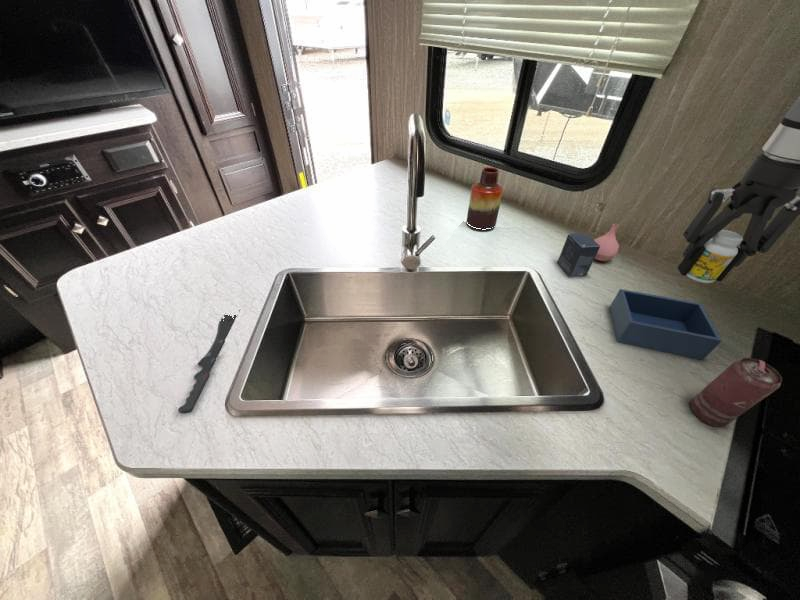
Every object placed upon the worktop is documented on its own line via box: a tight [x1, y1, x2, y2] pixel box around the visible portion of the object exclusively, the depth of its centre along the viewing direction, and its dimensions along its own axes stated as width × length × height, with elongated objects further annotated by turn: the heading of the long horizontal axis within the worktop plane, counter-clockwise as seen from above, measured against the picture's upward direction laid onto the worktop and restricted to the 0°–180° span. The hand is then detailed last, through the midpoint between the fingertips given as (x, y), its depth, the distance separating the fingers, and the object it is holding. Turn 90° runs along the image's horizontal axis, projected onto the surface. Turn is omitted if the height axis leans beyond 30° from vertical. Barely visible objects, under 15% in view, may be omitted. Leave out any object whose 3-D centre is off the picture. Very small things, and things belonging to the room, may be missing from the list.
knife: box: [177, 309, 241, 413], centre depth 74 cm, size 32×4×1 cm, turn 2°
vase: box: [465, 166, 504, 233], centre depth 113 cm, size 11×11×20 cm
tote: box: [608, 288, 723, 361], centre depth 76 cm, size 18×13×7 cm
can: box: [690, 357, 783, 427], centre depth 58 cm, size 6×6×14 cm
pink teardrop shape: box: [593, 223, 620, 262], centre depth 99 cm, size 8×8×12 cm
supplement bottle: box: [686, 229, 743, 284], centre depth 62 cm, size 5×5×10 cm
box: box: [557, 232, 600, 278], centre depth 95 cm, size 8×6×11 cm
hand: (698, 274), depth 66 cm, fingers closed on supplement bottle, 5 cm apart
